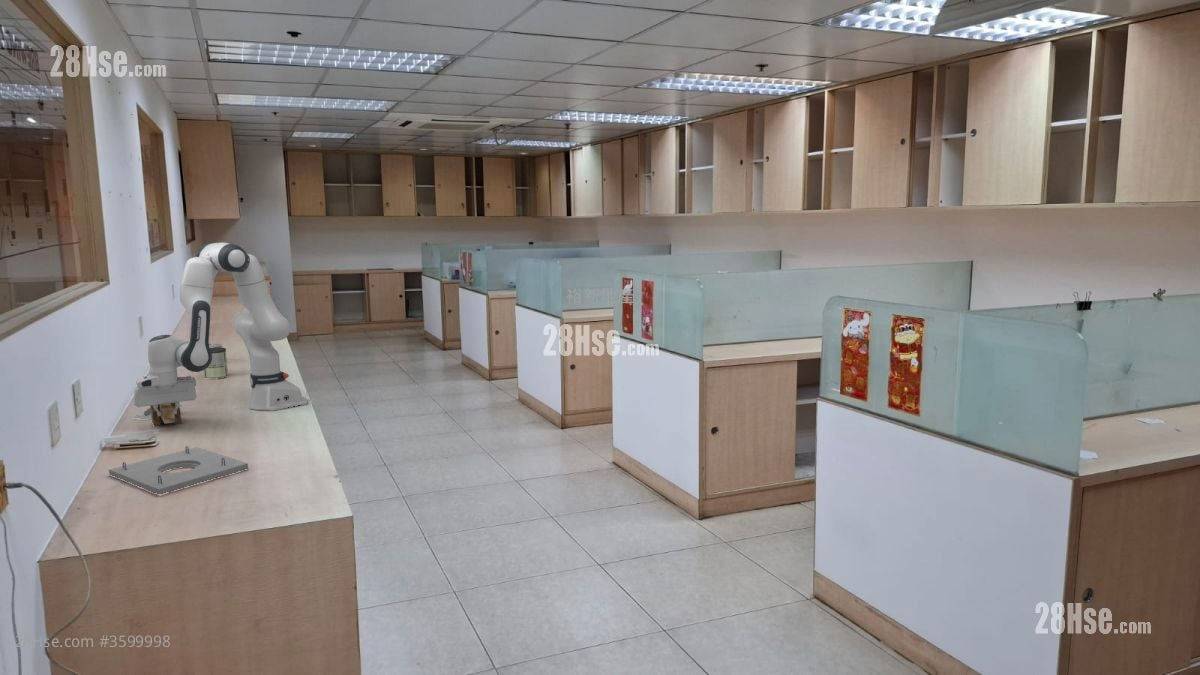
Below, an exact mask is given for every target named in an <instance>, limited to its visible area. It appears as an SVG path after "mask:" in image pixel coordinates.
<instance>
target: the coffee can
mask: <svg viewBox="0 0 1200 675" xmlns="http://www.w3.org/2000/svg"><path fill="white" fill-rule="evenodd" d="M210 350H211V353H212V361H211V364H210V365H209V366H208V367H207V368H206V369H205V370H203V371H204V379H205V378H208V379H216V378H223V379H225V378H224V377H227V376H228V377H229V372H228V361H227V360H228V359H227V348H225V347H222V348H210ZM228 377H227V378H228ZM208 379H207V380H208ZM216 380H217V379H216Z"/></svg>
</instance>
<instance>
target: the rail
mask: <svg viewBox="0 0 1200 675" xmlns="http://www.w3.org/2000/svg"><path fill="white" fill-rule="evenodd" d="M159 406H160V411H162V416H161V418H162V420H163V422H164V424H172V423H174V422H175V416H174V408H173V407H172V405H171V404H170V403H167V404H159Z"/></svg>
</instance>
